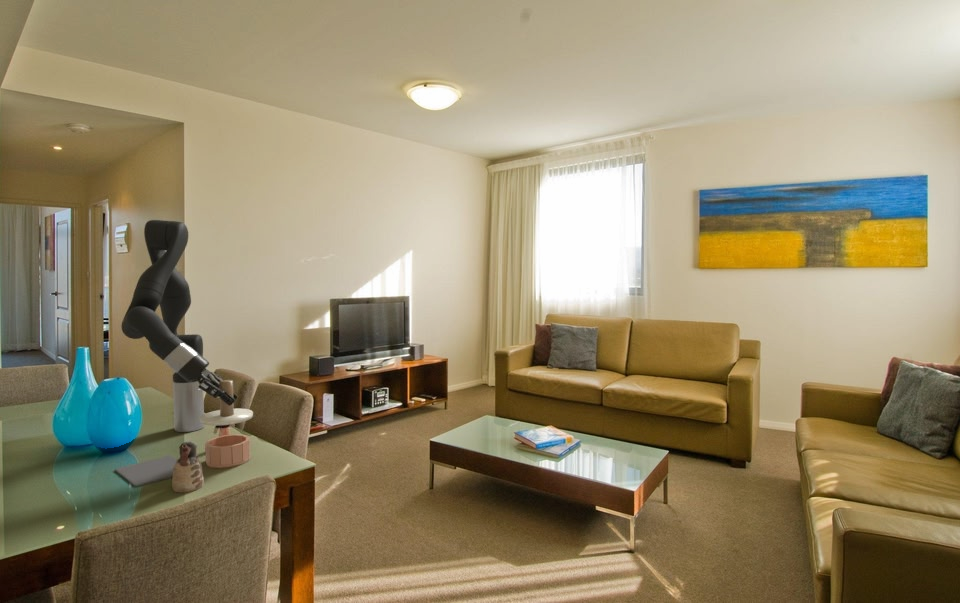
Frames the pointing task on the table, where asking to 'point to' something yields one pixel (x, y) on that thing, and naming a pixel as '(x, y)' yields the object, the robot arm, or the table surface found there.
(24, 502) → the table surface
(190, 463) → the figurine
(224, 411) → the cover
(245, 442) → the bowl
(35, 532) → the table surface
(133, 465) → the mat
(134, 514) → the table surface
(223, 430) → the grandmother figurine
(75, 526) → the table surface
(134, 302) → the robot arm
